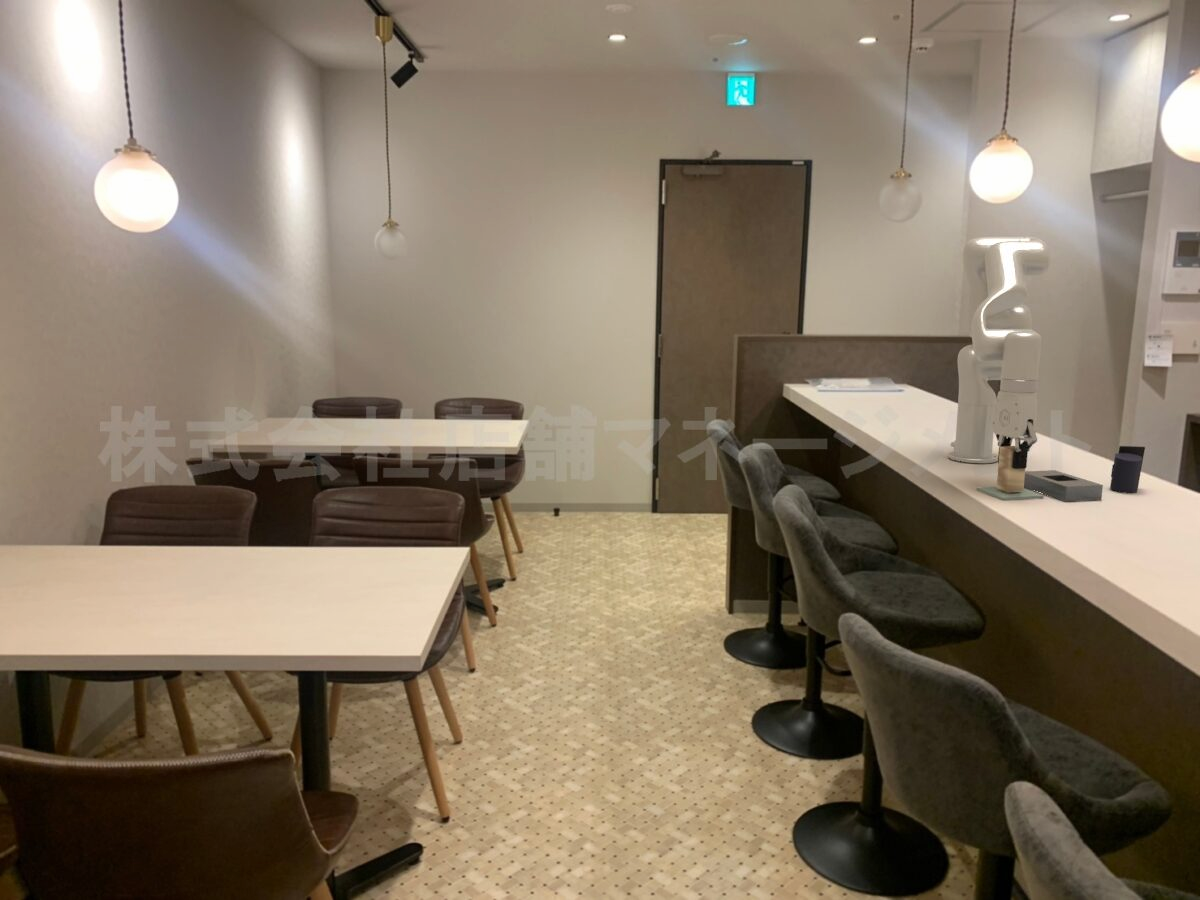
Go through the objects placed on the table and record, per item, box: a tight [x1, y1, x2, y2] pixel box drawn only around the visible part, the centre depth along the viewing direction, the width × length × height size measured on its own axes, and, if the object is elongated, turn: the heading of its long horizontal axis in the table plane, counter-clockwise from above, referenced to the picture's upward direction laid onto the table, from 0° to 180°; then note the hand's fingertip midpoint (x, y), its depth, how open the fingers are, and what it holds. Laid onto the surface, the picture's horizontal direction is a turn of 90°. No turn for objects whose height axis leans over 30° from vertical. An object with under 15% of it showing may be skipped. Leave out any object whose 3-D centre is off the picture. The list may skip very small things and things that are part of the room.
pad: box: [976, 486, 1044, 501], centre depth 201 cm, size 10×10×1 cm
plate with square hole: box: [1024, 469, 1104, 503], centre depth 202 cm, size 16×9×4 cm, turn 10°
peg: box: [996, 445, 1026, 493], centre depth 200 cm, size 4×4×10 cm
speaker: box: [1109, 445, 1146, 494], centre depth 204 cm, size 8×6×10 cm
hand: (1011, 465), depth 200 cm, fingers open, 4 cm apart
